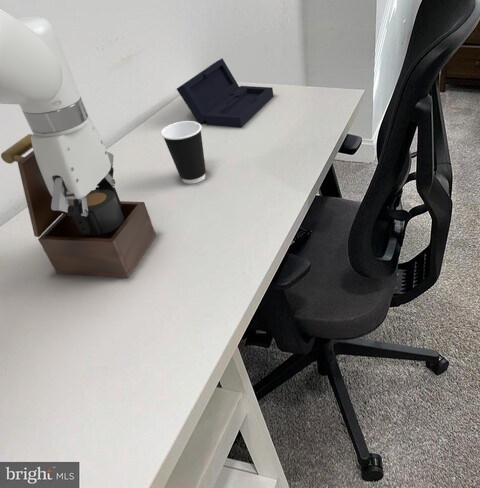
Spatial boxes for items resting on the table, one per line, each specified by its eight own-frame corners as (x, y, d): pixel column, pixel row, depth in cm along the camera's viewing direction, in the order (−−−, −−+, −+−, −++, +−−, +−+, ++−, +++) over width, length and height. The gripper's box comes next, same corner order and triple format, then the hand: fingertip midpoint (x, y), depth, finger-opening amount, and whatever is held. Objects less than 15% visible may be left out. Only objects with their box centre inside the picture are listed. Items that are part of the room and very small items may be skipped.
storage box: (241, 127, 120) (234, 88, 114) (185, 122, 124) (175, 84, 118) (273, 96, 135) (268, 59, 129) (222, 93, 140) (215, 57, 134)
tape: (94, 240, 75) (82, 215, 72) (76, 225, 78) (64, 201, 75) (131, 221, 78) (122, 197, 75) (112, 207, 82) (102, 184, 79)
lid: (67, 128, 74) (34, 120, 74) (22, 163, 66) (-15, 154, 66) (77, 198, 83) (48, 190, 83) (38, 237, 74) (6, 229, 74)
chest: (156, 236, 86) (144, 201, 81) (127, 277, 77) (112, 242, 73) (91, 233, 88) (76, 199, 83) (56, 274, 79) (37, 239, 75)
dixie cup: (167, 182, 101) (151, 133, 94) (193, 165, 106) (181, 118, 99) (194, 191, 97) (181, 141, 90) (220, 173, 102) (209, 124, 95)
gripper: (67, 92, 74) (107, 191, 85) (-9, 144, 61) (50, 253, 72) (112, 91, 73) (146, 192, 84) (44, 144, 60) (96, 256, 71)
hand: (102, 219), depth 78 cm, fingers closed on tape, 6 cm apart
